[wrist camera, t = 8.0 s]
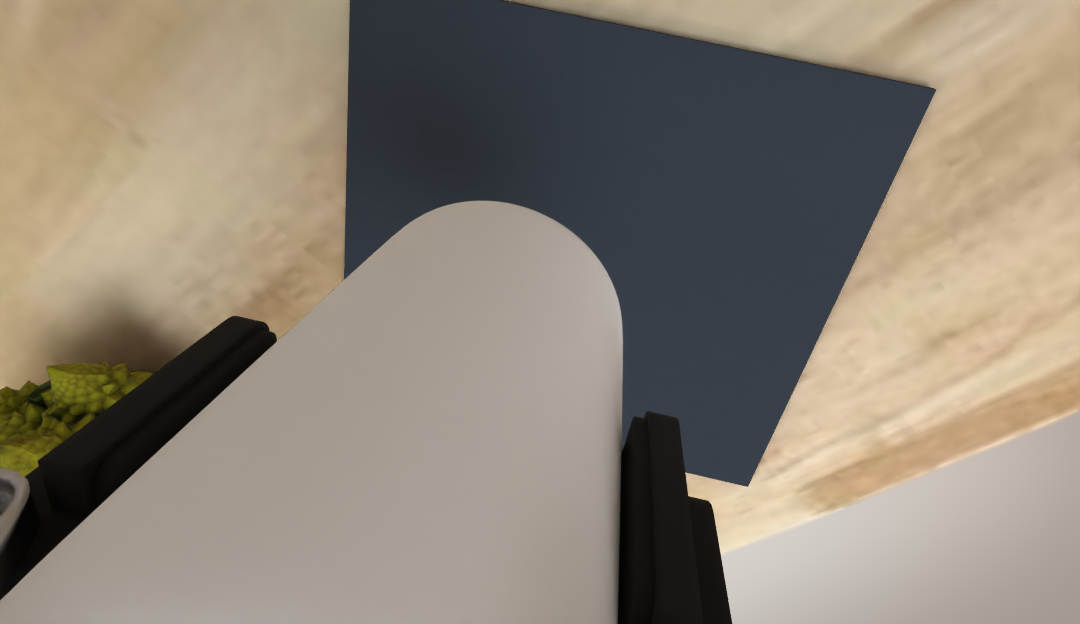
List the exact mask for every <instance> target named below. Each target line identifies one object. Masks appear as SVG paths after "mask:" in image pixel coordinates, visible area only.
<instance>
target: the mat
mask: <svg viewBox="0 0 1080 624" xmlns="http://www.w3.org/2000/svg"><path fill="white" fill-rule="evenodd" d="M935 91H936V89H934V88H929V87H925V86H920V85H915V84H910V83H905V82H900V81H895V80H890V79H885V78H880V77H876V76H871V75H866V74H861V73H856V72H851V71H846V70H841V69H836V68H831V67H827V66H822V65H817V64H812V63H807V62H802V61H797V60H792V59H787V58H782V57H778V56H773V55H768V54H763V53H758V52H753V51H748V50H743V49H738V48H733V47H729V46H724V45H719V44H714V43H709V42H704V41H699V40H694V39H689V38H684V37H680V36H675V35H670V34H665V33H660V32H655V31H650V30H645V29H640V28H635V27H631V26H626V25H621V24H616V23H611V22H606V21H601V20H596V19H591V18H586V17H582V16H577V15H572V14H567V13H562V12H557V11H552V10H547V9H542V8H537V7H533V6H528V5H523V4H518V3H513V2H508V1H503V0H350V28H349V76H348V125H347V173H346V221H345V270H344V280H345V279H346V278H347V277H348V276H349V275H350V274H351V273H352V272H353V271H355V270H356V269H357V268H358V267H359V266H360V265H361V264H362V263H363V262H364V261H366V260H367V259H368V258H369V257H370V256H371V255H372V254H373V253H374V252H376V251H377V250H378V249H379V248H380V247H381V246H382V245H383V244H385V243H386V242H387V241H388V240H389V239H390V238H391V237H392V236H394V235H395V234H396V233H397V232H399V231H400V230H401V229H402V228H403V227H405V226H406V225H407V224H409V223H410V222H412V221H413V220H415V219H416V218H418V217H420V216H422V215H423V214H425V213H427V212H430V211H432V210H434V209H437V208H440V207H443V206H446V205H450V204H454V203H460V202H467V201H497V202H504V203H510V204H514V205H518V206H522V207H525V208H528V209H531V210H534V211H536V212H539V213H541V214H543V215H545V216H547V217H549V218H551V219H553V220H555V221H557V222H558V223H560V224H561V225H563V226H564V227H566V228H567V229H569V230H570V231H571V232H573V233H574V234H575V235H576V236H577V237H579V238H580V239H581V240H582V241H583V242H584V243H585V244H586V245H587V246H588V247H589V248H590V249H591V250H592V252H593V253H594V254H595V255H596V257H597V258H598V259H599V261H600V262H601V263H602V265H603V267H604V268H605V270H606V271H607V273H608V275H609V277H610V279H611V281H612V283H613V286H614V288H615V291H616V294H617V297H618V301H619V305H620V310H621V317H622V331H623V379H622V443H621V453H622V450H623V447H624V444H625V441H626V437H627V434H628V431H629V428H630V425H631V422H632V419H633V417H634V416H636V417H641V418H644V415H645V414H646V412H647V411H650V412H655V413H659V414H663V415H668V416H672V417H676V418H678V420H679V425H680V433H681V441H682V450H683V458H684V466H685V472H687V473H691V474H695V475H700V476H704V477H708V478H713V479H717V480H721V481H725V482H730V483H734V484H738V485H743V486H747V487H748V485H749V483H750V481H751V479H752V477H753V475H754V473H755V471H756V469H757V466H758V464H759V462H760V460H761V458H762V456H763V454H764V452H765V450H766V448H767V445H768V443H769V441H770V439H771V437H772V435H773V433H774V431H775V429H776V426H777V424H778V422H779V420H780V418H781V416H782V414H783V412H784V410H785V407H786V405H787V403H788V401H789V399H790V397H791V395H792V393H793V391H794V388H795V386H796V384H797V382H798V380H799V378H800V376H801V374H802V372H803V369H804V367H805V365H806V363H807V361H808V359H809V357H810V355H811V353H812V351H813V348H814V346H815V344H816V342H817V340H818V338H819V336H820V334H821V332H822V329H823V327H824V325H825V323H826V321H827V319H828V317H829V315H830V313H831V310H832V308H833V306H834V304H835V302H836V300H837V298H838V296H839V294H840V291H841V289H842V287H843V285H844V283H845V281H846V279H847V277H848V275H849V273H850V270H851V268H852V266H853V264H854V262H855V260H856V258H857V256H858V254H859V251H860V249H861V247H862V245H863V243H864V241H865V239H866V237H867V235H868V232H869V230H870V228H871V226H872V224H873V222H874V220H875V218H876V216H877V213H878V211H879V209H880V207H881V205H882V203H883V201H884V199H885V197H886V194H887V192H888V190H889V188H890V186H891V184H892V182H893V180H894V178H895V176H896V173H897V171H898V169H899V167H900V165H901V163H902V161H903V159H904V157H905V154H906V152H907V150H908V148H909V146H910V144H911V142H912V140H913V138H914V135H915V133H916V131H917V129H918V127H919V125H920V123H921V121H922V119H923V116H924V114H925V112H926V110H927V108H928V106H929V104H930V102H931V100H932V98H933V95H934V93H935Z"/></svg>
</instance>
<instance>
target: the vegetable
mask: <svg viewBox="0 0 1080 624" xmlns="http://www.w3.org/2000/svg"><path fill="white" fill-rule="evenodd" d="M46 368H47V371H48V374H49V377H50V381H48V382H46V383H44V384H42V385H40V386H38V385H36V384H34V383H32V382H30V381H28V382H27V383H26V384H25V385H24V386H23V387H22V388H21V390H20V391H19V390H14V389H11V388H9V387H7V386H6V387H5V388H3V389H1V390H0V468H6V469H10V470H13V471H17V472H19V473H20V474H21V475H23V476H24V477H25V476H26V475H28V474H29V473H30V472H32V471H33V470H34V469H35V468H37V467H38V466H39V465H38V462H37V461H38V460H39V459H40V458H42V457H43V456H44V455H46V454H47V453H49V452H50V451H51V450H53V449H54V448H55V447H57V446H58V445H59V444H61V443H62V442H63V441H65V440H66V439H67V438H69V437H70V436H71V435H73V434H74V433H75V432H77V431H78V430H79V429H81V428H82V427H83V426H85V425H86V424H87V423H89V422H90V421H91V420H93V419H94V418H95V417H97V416H98V415H99V414H101V413H102V412H103V411H105V410H106V409H107V408H109V407H110V406H111V405H113V404H114V403H115V402H117V401H118V400H119V399H121V398H122V397H123V396H125V395H126V394H127V393H129V392H130V391H132V390H133V389H134V388H136V387H137V386H138V385H140V384H141V383H142V382H144V381H145V380H146V379H148V378H149V377H150V376H152V375H153V372H149V371H148V370H144V371H138V372H131V373H130V372H129V370H128V367H127V365H126V362H124V363H122V364H119V365H117V366H114V367H112V368H110V367H109V366H108V365H107V364H106V362H105V361H104V362H102V363H101V364H100V365H99V364H95V363H82V362H79V363H71V364H62V365H54V366H46Z"/></svg>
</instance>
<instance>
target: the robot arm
mask: <svg viewBox="0 0 1080 624" xmlns="http://www.w3.org/2000/svg"><path fill="white" fill-rule="evenodd" d="M276 342H277V338H276V335H275V334H274V333H273V332H270V331H269V327H268V325H267V324H266V323H264V322H260V321H256V320H252V319H247V318H243V317H239V316H232V317H230V318H228V319H227V320H225V321H224V322H223V323H221V324H220V325H219V326H217V327H216V328H215V329H213V330H212V331H210V332H209V333H208V334H206V335H205V336H204V337H202V338H201V339H200V340H198V341H197V342H196V343H194V344H193V345H192V346H190V347H189V348H188V349H186V350H185V351H184V352H182V353H181V354H180V355H178V356H177V357H176V358H174V359H173V360H172V361H170V362H169V363H168V364H166V365H165V366H164V367H162V368H161V369H160V370H158V371H157V372H156V373H154V374H153V375H152V376H150V377H149V378H148V379H146V380H145V381H144V382H142V383H141V384H140V385H138V386H137V387H136V388H134V389H133V390H132V391H130V392H129V393H127V394H126V395H125V396H123V397H122V398H121V399H119V400H118V401H117V402H115V403H114V404H113V405H111V406H110V407H109V408H107V409H106V410H105V411H103V412H102V413H101V414H99V415H98V416H97V417H95V418H94V419H93V420H91V421H90V422H89V423H87V424H86V425H85V426H83V427H82V428H81V429H79V430H78V431H77V432H75V433H74V434H73V435H71V436H70V437H69V438H67V439H66V440H65V441H63V442H62V443H61V444H59V445H58V446H57V447H55V448H54V449H53V450H51V451H50V452H49V453H47V454H46V455H44V456H43V457H42V458H40V459H39V460H38V461H37V462H38V465H39V466H38V467H37V468H35V469H34V470H33V471H32V472H30V473H29V474H28V475H26V476H25V477H24V476H23V475H21V474H20V473H19V472H17V471H13V470H10V469H6V468H0V600H1V599H2V598H3V597H4V596H5V595H6V594H7V593H9V592H10V591H11V590H12V589H13V588H14V587H15V586H16V585H17V584H18V583H19V582H20V581H21V580H22V579H23V578H24V577H25V576H26V575H27V574H28V573H29V572H30V571H31V570H32V569H33V568H34V567H35V566H36V565H37V564H38V563H39V562H40V561H41V560H42V559H44V558H45V557H46V556H47V555H48V554H49V553H50V552H51V551H52V550H53V549H54V548H55V547H56V546H57V545H58V544H59V543H60V542H61V541H62V540H64V539H65V538H66V537H67V536H68V535H69V534H70V533H71V532H72V531H73V530H74V529H75V528H76V527H77V526H78V525H80V524H81V523H82V522H83V521H84V520H85V519H86V518H87V517H88V516H89V515H90V514H91V513H92V512H93V511H94V510H96V509H97V508H98V507H99V506H100V505H101V504H102V503H103V502H104V501H105V500H106V499H107V498H108V497H109V496H111V495H112V494H113V493H114V492H115V491H116V490H117V489H118V488H119V487H120V486H121V485H122V484H123V483H124V482H125V481H127V480H128V479H129V478H130V477H131V476H132V475H133V474H134V473H135V472H136V471H137V470H138V469H139V468H141V467H142V466H143V465H144V464H145V463H146V462H147V461H148V460H149V459H150V458H151V457H152V456H153V455H155V454H156V453H157V452H158V451H159V450H160V449H161V448H162V447H163V446H164V445H165V444H166V443H168V442H169V441H170V440H171V439H172V438H173V437H174V436H175V435H176V434H177V433H178V432H179V431H180V430H182V429H183V428H184V427H185V426H186V425H187V424H188V423H189V422H190V421H191V420H192V419H193V418H195V417H196V416H197V415H198V414H199V413H200V412H201V411H202V410H203V409H204V408H205V407H206V406H208V405H209V404H210V403H211V402H212V401H213V400H214V399H215V398H216V397H217V396H218V395H219V394H220V393H222V392H223V391H224V390H225V389H226V388H227V387H228V386H229V385H230V384H231V383H232V382H233V381H235V380H236V379H237V378H238V377H239V376H240V375H241V374H242V373H243V372H244V371H245V370H247V369H248V368H249V367H250V366H251V365H252V364H253V363H254V362H255V361H256V360H257V359H258V358H260V357H261V356H262V355H263V354H264V353H265V352H266V351H267V350H268V349H269V348H270V347H272V346H273V345H274V344H275V343H276ZM618 624H732V620H731V614H730V608H729V602H728V596H727V590H726V585H725V579H724V572H723V566H722V560H721V554H720V549H719V543H718V537H717V531H716V525H715V519H714V513H713V509H712V505H711V504H710V502H709V501H706V500H702V499H698V498H693V497H689V496H688V491H687V483H686V474H685V466H684V458H683V450H682V441H681V433H680V425H679V420H678V418H676V417H672V416H668V415H663V414H659V413H655V412H650V411H647V412H646V414H645V415H644V418H641V417H636V416H634V417H633V419H632V422H631V425H630V428H629V431H628V434H627V437H626V441H625V444H624V447H623V450H622V453H621V496H620V546H619V591H618Z"/></svg>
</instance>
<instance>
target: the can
mask: <svg viewBox="0 0 1080 624" xmlns="http://www.w3.org/2000/svg"><path fill="white" fill-rule="evenodd" d="M622 379H623V331H622V317H621V310H620V305H619V301H618V297H617V294H616V291H615V288H614V286H613V283H612V281H611V279H610V277H609V275H608V273H607V271H606V270H605V268H604V267H603V265H602V263H601V262H600V261H599V259H598V258H597V257H596V255H595V254H594V253H593V252H592V250H591V249H590V248H589V247H588V246H587V245H586V244H585V243H584V242H583V241H582V240H581V239H580V238H579V237H577V236H576V235H575V234H574V233H573V232H571V231H570V230H569V229H567V228H566V227H564V226H563V225H561V224H560V223H558V222H557V221H555V220H553V219H551V218H549V217H547V216H545V215H543V214H541V213H539V212H536V211H534V210H531V209H528V208H525V207H522V206H518V205H514V204H510V203H504V202H497V201H467V202H460V203H454V204H450V205H446V206H443V207H440V208H437V209H434V210H432V211H430V212H427V213H425V214H423V215H422V216H420V217H418V218H416V219H415V220H413V221H412V222H410V223H409V224H407V225H406V226H405V227H403V228H402V229H401V230H400V231H399V232H397V233H396V234H395V235H394V236H392V237H391V238H390V239H389V240H388V241H387V242H386V243H385V244H383V245H382V246H381V247H380V248H379V249H378V250H377V251H376V252H374V253H373V254H372V255H371V256H370V257H369V258H368V259H367V260H366V261H364V262H363V263H362V264H361V265H360V266H359V267H358V268H357V269H356V270H355V271H353V272H352V273H351V274H350V275H349V276H348V277H347V278H346V279H345V280H344V281H342V282H341V283H340V284H339V285H338V286H337V287H336V288H335V289H334V290H333V291H332V292H330V293H329V294H328V295H327V296H326V297H325V298H324V299H323V300H322V301H321V302H319V303H318V304H317V305H316V306H315V307H314V308H313V309H312V310H311V311H310V312H309V313H307V314H306V315H305V316H304V317H303V318H302V319H301V320H300V321H299V322H298V323H297V324H295V325H294V326H293V327H292V328H291V329H290V330H289V331H288V332H287V333H286V334H285V335H283V336H282V337H281V338H280V339H279V340H278V341H277V342H276V343H275V344H274V345H273V346H272V347H270V348H269V349H268V350H267V351H266V352H265V353H264V354H263V355H262V356H261V357H260V358H258V359H257V360H256V361H255V362H254V363H253V364H252V365H251V366H250V367H249V368H248V369H247V370H245V371H244V372H243V373H242V374H241V375H240V376H239V377H238V378H237V379H236V380H235V381H233V382H232V383H231V384H230V385H229V386H228V387H227V388H226V389H225V390H224V391H223V392H222V393H220V394H219V395H218V396H217V397H216V398H215V399H214V400H213V401H212V402H211V403H210V404H209V405H208V406H206V407H205V408H204V409H203V410H202V411H201V412H200V413H199V414H198V415H197V416H196V417H195V418H193V419H192V420H191V421H190V422H189V423H188V424H187V425H186V426H185V427H184V428H183V429H182V430H180V431H179V432H178V433H177V434H176V435H175V436H174V437H173V438H172V439H171V440H170V441H169V442H168V443H166V444H165V445H164V446H163V447H162V448H161V449H160V450H159V451H158V452H157V453H156V454H155V455H153V456H152V457H151V458H150V459H149V460H148V461H147V462H146V463H145V464H144V465H143V466H142V467H141V468H139V469H138V470H137V471H136V472H135V473H134V474H133V475H132V476H131V477H130V478H129V479H128V480H127V481H125V482H124V483H123V484H122V485H121V486H120V487H119V488H118V489H117V490H116V491H115V492H114V493H113V494H112V495H111V496H109V497H108V498H107V499H106V500H105V501H104V502H103V503H102V504H101V505H100V506H99V507H98V508H97V509H96V510H94V511H93V512H92V513H91V514H90V515H89V516H88V517H87V518H86V519H85V520H84V521H83V522H82V523H81V524H80V525H78V526H77V527H76V528H75V529H74V530H73V531H72V532H71V533H70V534H69V535H68V536H67V537H66V538H65V539H64V540H62V541H61V542H60V543H59V544H58V545H57V546H56V547H55V548H54V549H53V550H52V551H51V552H50V553H49V554H48V555H47V556H46V557H45V558H44V559H42V560H41V561H40V562H39V563H38V564H37V565H36V566H35V567H34V568H33V569H32V570H31V571H30V572H29V573H28V574H27V575H26V576H25V577H24V578H23V579H22V580H21V581H20V582H19V583H18V584H17V585H16V586H15V587H14V588H13V589H12V590H11V591H10V592H9V593H7V594H6V595H5V596H4V597H3V598H2V599H1V600H0V624H618V591H619V546H620V496H621V443H622Z"/></svg>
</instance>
